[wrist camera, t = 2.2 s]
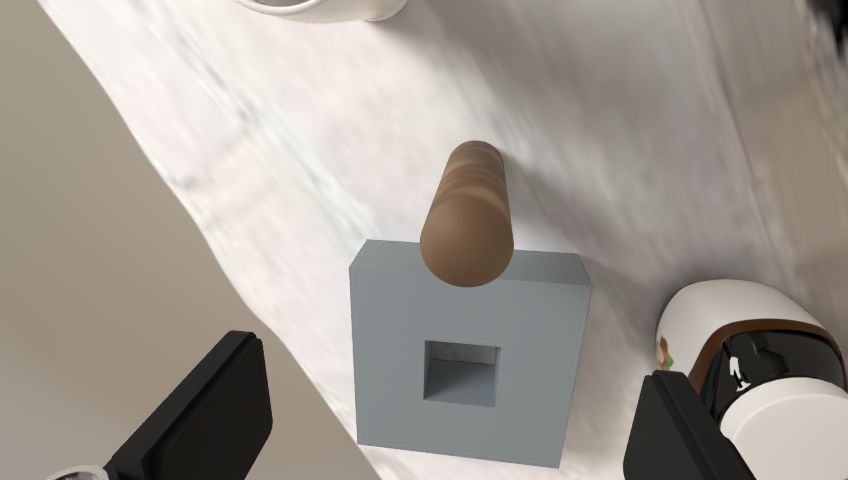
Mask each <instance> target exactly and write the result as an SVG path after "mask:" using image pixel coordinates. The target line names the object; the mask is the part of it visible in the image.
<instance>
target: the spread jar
mask: <svg viewBox="0 0 848 480" xmlns="http://www.w3.org/2000/svg"><path fill="white" fill-rule="evenodd" d="M655 348H656V356H657V364H658V368H659V370H667V371H677V372H683V373H684V374H685V375H686V376H687V378H688V380H689V381H690V383H691V384H692V386H693V387H694V389H695V391H696V392H697V394H698V395H699V397H700V399H701V400H702V402H703V403H704V405H705V406H706V408H707V410H708V411H709V413H710V414H711V416H712V418H713V419H714V421H715V422H716V424H717V426H718V427H719V429H720V430H721V432H722V433H723V435H724V436H725V437H727V438H728V439H730V440H731V441H732V443H733V444H734V445H735V447H736V448H737V450H738V451H739V453H740V454H741V456H742V458H743V459H744V461H745V462H746V464H747V465H748V467H749V468H750V470H751V472H752V473H753V475H754V476H755V478H756V479H757V480H845V479H847V478H848V376H847V370H846V366H845V362H844V359H843V356H842V353H841V351H840V349H839V346H838V345H837V343H836V342H835V340H834V339H833V337H832V336H831V335H830V334H829V332H828V331H827V330H826V329H825V328H824V327H823V326H822V325H821V324H820V323H819V322H818V321H817V320H816V319H815V318H814V317H813V316H811V315H810V314H809V313H808V312H806V311H805V310H804V309H803V308H802V307H800V306H799V305H798V304H797V303H795V302H794V301H793V300H791V299H790V298H789V297H787V296H786V295H784V294H783V293H781V292H779V291H778V290H776V289H774V288H771V287H768V286H766V285H763V284H759V283H755V282H751V281H745V280H734V279H712V280H704V281H699V282H695V283H691V284H688V285H686V286H684V287H682V288H680V289H679V290H678V291H676V292H675V293H674V294H673V295H672V296H671V297H670V298H669V299H668V300H667V302H666V303H665V305H664V306H663V308H662V310H661V312H660V314H659V316H658V319H657V323H656V329H655Z"/></svg>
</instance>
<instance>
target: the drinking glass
mask: <svg viewBox="0 0 848 480" xmlns="http://www.w3.org/2000/svg"><path fill="white" fill-rule="evenodd" d="M234 1H235V2H237V3H239V4H240V5H242V6H244V7H246V8H248V9H250V10H253V11H256V12H259V13H262V14H266V15H269V16H273V17H276V18H280V19H284V20H289V21H294V22H300V23H308V24H333V23H343V22H351V21H359V20H366V21H380V20H384V19H387V18H390V17H391V16H393V15H395V14H396V13H397V12H399V11H400V10H401V9H402V8H403V7H404V5H405V4H406V3H407V1H408V0H234Z"/></svg>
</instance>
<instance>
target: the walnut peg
mask: <svg viewBox="0 0 848 480" xmlns="http://www.w3.org/2000/svg"><path fill="white" fill-rule="evenodd" d="M420 250H421V255H422V258H423V260H424V262H425V264H426V266H427V267H428V269H429V270H430V271H431V272H432V273H433V274H434V275H435V276H436V277H437V278H439V279H440V280H442V281H444V282H446V283H448V284H451V285H454V286H457V287H469V288H470V287H478V286H482V285H485V284H487V283H489V282H492V281H493V280H495V279H496V278H498V277H499V276H500V275H501V274H502V273H503V272H504V271H505V269H506V268H507V267H508V265H509V263H510V261H511V258H512V255H513V250H514V241H513V233H512V226H511V219H510V211H509V204H508V196H507V189H506V181H505V174H504V166H503V161H502V158H501V156H500V154H499V152H498V151H497V150H496V149H495V148H494V147H493V146H491V145H490V144H488V143H486V142H482V141H468V142H465V143H463V144H461V145H459V146H458V147H457V148H456V149H455V150H454V151H453V152H452V153H451V155H450V157H449V159H448V162H447V165H446V167H445V170H444V173H443V175H442V178H441V181H440V184H439V186H438V189H437V192H436V194H435V197H434V200H433V202H432V205H431V208H430V210H429V213H428V216H427V219H426V221H425V224H424V227H423V229H422V232H421V236H420Z"/></svg>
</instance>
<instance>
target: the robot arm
mask: <svg viewBox="0 0 848 480" xmlns="http://www.w3.org/2000/svg"><path fill="white" fill-rule="evenodd" d="M272 423H273V419H272V412H271V404H270V396H269V390H268V382H267V375H266V366H265V359H264V351H263V345H262V341H261V339H258V338H256V335H255V334H254V333H253V332H245V331H233V330H232V331H229V332H228V333H227V334H226V335H225V336H224V337H223V338H222V339H221V340H220V341H219V342H218V343H217V344H216V345H215V346H214V348H213V349H212V350H211V351H210V352H209V353H208V354H207V355H206V356H205V357H204V358H203V359H202V360H201V361H200V363H199V364H198V365H197V366H196V367H195V368H194V369H193V370H192V371H191V372H190V373H189V374H188V375H187V377H186V378H185V379H184V380H183V381H182V382H181V383H180V384H179V385H178V386H177V387H176V388H175V389H174V390H173V392H172V393H171V394H170V395H169V396H168V397H167V398H166V399H165V400H164V401H163V402H162V403H161V404H160V405H159V407H158V408H157V409H156V410H155V411H154V412H153V413H152V414H151V415H150V416H149V417H148V418H147V419H146V421H145V422H144V423H143V424H142V425H141V426H140V427H139V428H138V429H137V430H136V431H135V432H134V433H133V434H132V436H131V437H130V438H129V439H128V440H127V441H126V442H125V443H124V444H123V445H122V446H121V447H120V449H119V450H118V451H117V452H116V453H115V454H114V455H113V456H112V459H111V460H110V461H109V462H108V463H107V464H106V465H105V466H104V467H103V468H101V467H98V466H94V465H81V466H76V467H72V468H68V469H65V470H63V471H60V472H58V473H56V474H54V475H51V476H49V477H48V478H46V479H45V480H244V479H245V478H246V476H247V474H248V472H249V471H250V469H251V467H252V465H253V464H254V462H255V460H256V458H257V456H258V455H259V453H260V451H261V449H262V448H263V446H264V444H265V442H266V440H267V439H268V437H269V435H270V432H271V430H272ZM623 472H624V477H625V480H757V479H756V478H755V476H754V475H753V473H752V472H751V470H750V468H749V467H748V465H747V464H746V462H745V461H744V459H743V458H742V456H741V454H740V453H739V451H738V450H737V448H736V447H735V445H734V444H733V443H732V441H731V440H730V439H728V438H727V437H725V436H724V435H723V433H722V432H721V430H720V429H719V427H718V426H717V424H716V422H715V421H714V419H713V418H712V416H711V414H710V413H709V411H708V410H707V408H706V406H705V405H704V403H703V402H702V400H701V399H700V397H699V395H698V394H697V392H696V391H695V389H694V387H693V386H692V384H691V383H690V381H689V380H688V378H687V376H686V375H685V374H684V373H683V372H677V371H667V370H655V371H654V372H653V373H652V375H646V376H645V378H644V381H643V385H642V389H641V393H640V397H639V401H638V404H637V408H636V412H635V416H634V420H633V424H632V428H631V432H630V436H629V440H628V444H627V448H626V452H625V456H624V461H623Z"/></svg>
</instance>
